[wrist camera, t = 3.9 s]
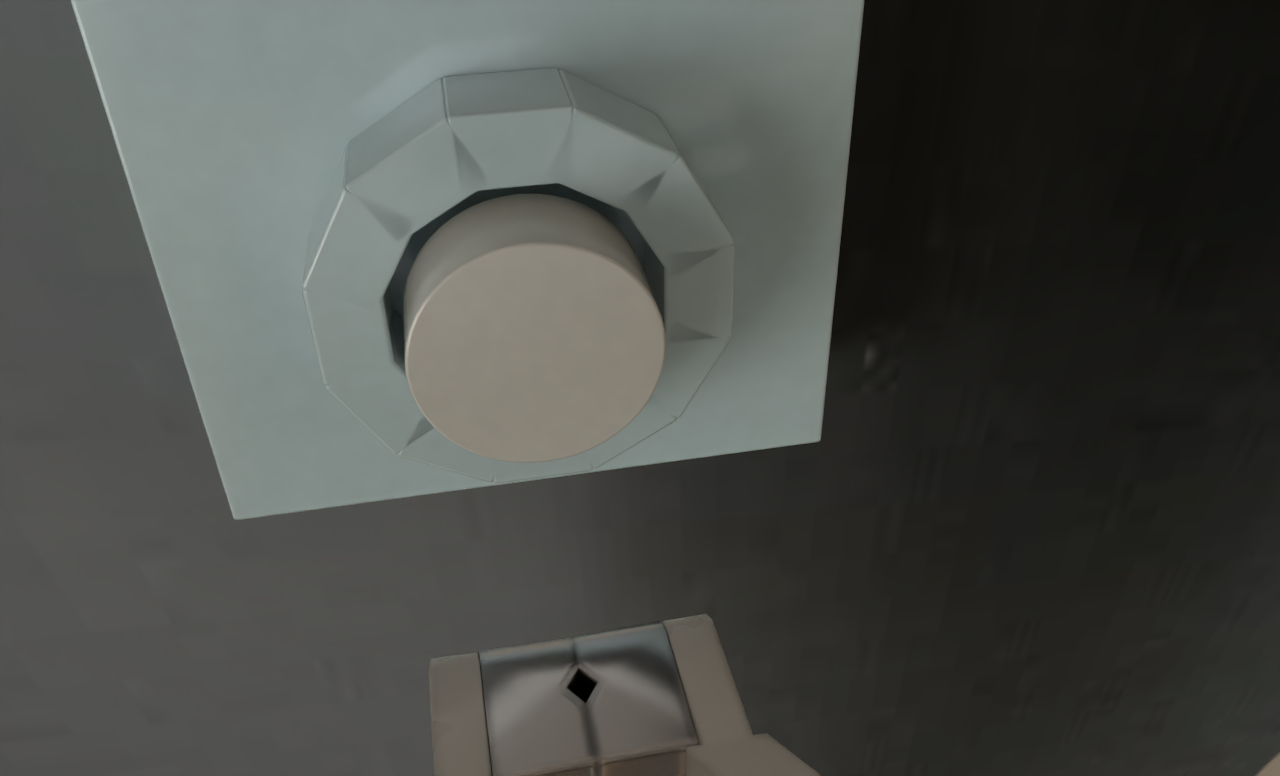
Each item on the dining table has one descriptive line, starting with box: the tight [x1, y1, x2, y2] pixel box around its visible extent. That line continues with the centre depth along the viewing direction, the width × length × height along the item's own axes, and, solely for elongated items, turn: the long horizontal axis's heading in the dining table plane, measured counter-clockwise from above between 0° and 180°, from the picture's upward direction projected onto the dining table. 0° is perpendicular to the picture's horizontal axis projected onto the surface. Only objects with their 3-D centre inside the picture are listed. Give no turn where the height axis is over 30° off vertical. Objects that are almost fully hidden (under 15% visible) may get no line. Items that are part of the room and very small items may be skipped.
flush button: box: [403, 194, 666, 463], centre depth 17 cm, size 4×4×2 cm
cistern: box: [71, 0, 864, 520], centre depth 20 cm, size 12×10×5 cm
